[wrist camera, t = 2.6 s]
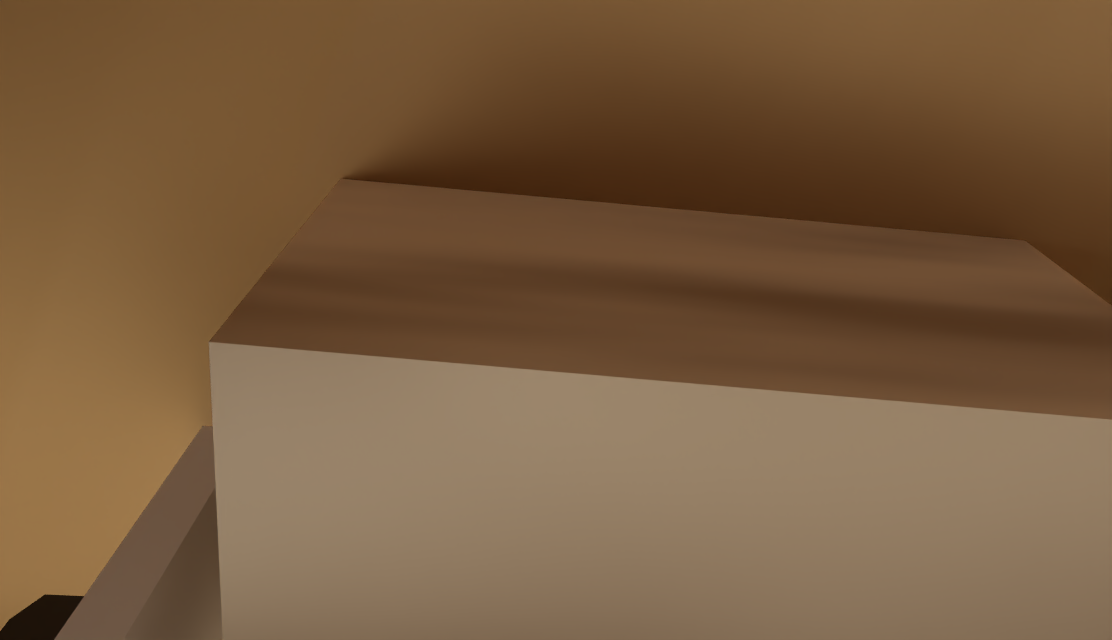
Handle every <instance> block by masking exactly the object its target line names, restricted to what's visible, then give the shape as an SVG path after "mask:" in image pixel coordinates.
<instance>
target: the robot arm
mask: <svg viewBox="0 0 1112 640" xmlns="http://www.w3.org/2000/svg"><path fill="white" fill-rule="evenodd" d="M0 640H223V633H222V612H221V590H220V569H219V548H218V526H217V505H216V484H215V463H214V441H213V426H202V428H201V429H200V430H199V432H198V433H197V435H196V436H195V438H194V439H193V441H192V442H191V443H190V445H189V446H188V448H187V449H186V451H185V452H184V453H183V455H182V456H181V458H180V459H179V461H178V462H177V464H176V465H175V466H174V468H173V469H172V471H171V472H170V474H169V475H168V476H167V478H166V479H165V481H164V482H163V484H162V485H161V487H160V488H159V489H158V491H157V492H156V494H155V495H154V497H153V498H152V500H151V501H150V502H149V504H148V505H147V507H146V508H145V510H144V511H143V512H142V514H141V515H140V517H139V518H138V520H137V521H136V523H135V524H134V525H133V527H132V528H131V530H130V531H129V533H128V534H127V535H126V537H125V538H124V540H123V541H122V543H121V544H120V546H119V547H118V548H117V550H116V551H115V553H114V554H113V556H112V557H111V559H110V560H109V561H108V563H107V564H106V566H105V567H104V569H103V570H102V571H101V573H100V574H99V576H98V577H97V579H96V580H95V582H94V583H93V584H92V586H91V587H90V589H89V590H88V592H87V593H86V594H85V596H66V595H44V596H42V597H41V598H39V599H38V600H37V601H35V602H34V603H32V604H31V605H29V606H28V607H27V608H25V609H24V610H22V611H21V612H19V613H18V614H17V615H15V616H14V617H12V618H11V619H9V621H8V622H7V623H6V625H5V626H4V627H3V628H2V630H1V631H0Z"/></svg>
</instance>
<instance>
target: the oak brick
mask: <svg viewBox="0 0 1112 640" xmlns="http://www.w3.org/2000/svg"><path fill="white" fill-rule="evenodd" d="M209 356H210V377H211V399H212V420H213V441H214V463H215V484H216V505H217V526H218V548H219V569H220V590H221V612H222V633H223V640H1112V305H1110V304H1109V303H1108V302H1106V301H1105V300H1104V299H1102V298H1101V297H1100V296H1098V295H1097V294H1096V293H1094V292H1093V291H1092V290H1090V289H1089V288H1088V287H1086V286H1085V285H1084V284H1082V283H1081V282H1080V281H1078V280H1077V279H1076V278H1074V277H1073V276H1072V275H1070V274H1069V273H1068V272H1066V271H1065V270H1064V269H1062V268H1061V267H1060V266H1058V265H1057V264H1056V263H1054V262H1053V261H1052V260H1050V259H1049V258H1048V257H1046V256H1045V255H1044V254H1042V253H1041V252H1040V251H1038V250H1037V249H1036V248H1034V247H1033V246H1032V245H1030V244H1029V243H1028V242H1026V241H1025V240H1015V239H1004V238H993V237H982V236H971V235H960V234H949V233H938V232H927V231H916V230H904V229H893V228H882V227H871V226H860V225H849V224H838V223H827V222H816V221H805V220H794V219H783V218H771V217H760V216H749V215H738V214H727V213H716V212H705V211H694V210H683V209H672V208H661V207H650V206H638V205H627V204H616V203H605V202H594V201H583V200H572V199H561V198H550V197H539V196H528V195H517V194H505V193H494V192H483V191H472V190H461V189H450V188H439V187H428V186H417V185H406V184H395V183H384V182H372V181H361V180H350V179H340V180H339V181H338V183H337V184H336V185H335V186H334V188H333V189H332V190H331V191H330V192H329V194H328V195H327V196H326V197H325V199H324V200H323V201H322V202H321V204H320V205H319V206H318V207H317V209H316V210H315V211H314V212H313V214H312V215H311V216H310V217H309V218H308V220H307V221H306V222H305V223H304V225H303V226H302V227H301V228H300V230H299V231H298V232H297V233H296V235H295V236H294V237H293V238H292V240H291V241H290V242H289V243H288V244H287V246H286V247H285V248H284V249H283V251H282V252H281V253H280V254H279V256H278V257H277V258H276V259H275V261H274V262H273V263H272V264H271V266H270V267H269V268H268V269H267V271H266V272H265V273H264V274H263V275H262V277H261V278H260V279H259V280H258V282H257V283H256V284H255V285H254V287H253V288H252V289H251V290H250V292H249V293H248V294H247V295H246V297H245V298H244V299H243V300H242V301H241V303H240V304H239V305H238V306H237V308H236V309H235V310H234V311H233V313H232V314H231V315H230V316H229V318H228V319H227V320H226V321H225V323H224V324H223V325H222V326H221V328H220V329H219V330H218V331H217V332H216V334H215V335H214V336H213V337H212V339H211V340H210V341H209Z"/></svg>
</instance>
